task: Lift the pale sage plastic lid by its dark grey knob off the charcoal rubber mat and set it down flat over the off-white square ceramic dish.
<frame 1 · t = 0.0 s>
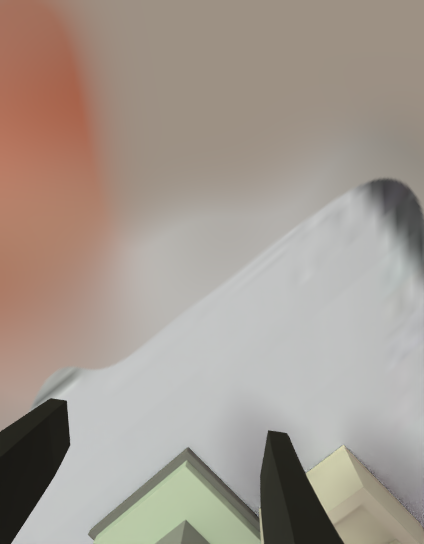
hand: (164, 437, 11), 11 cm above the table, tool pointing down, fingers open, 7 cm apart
mat: (187, 539, 23), on the table
dish: (337, 516, 22), on the table
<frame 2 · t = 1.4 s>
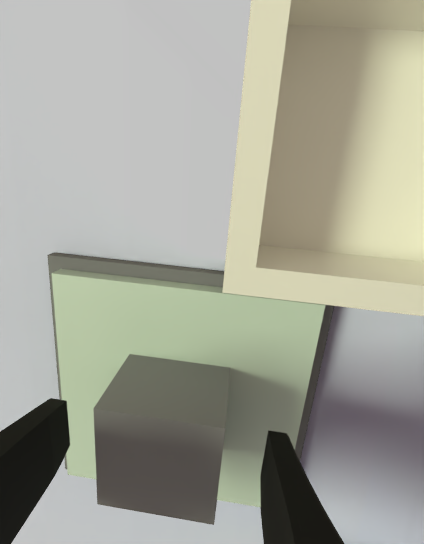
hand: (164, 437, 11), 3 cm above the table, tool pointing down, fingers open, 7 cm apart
mat: (181, 386, 13), on the table
dish: (363, 154, 10), on the table
lid: (180, 392, 13), resting on mat
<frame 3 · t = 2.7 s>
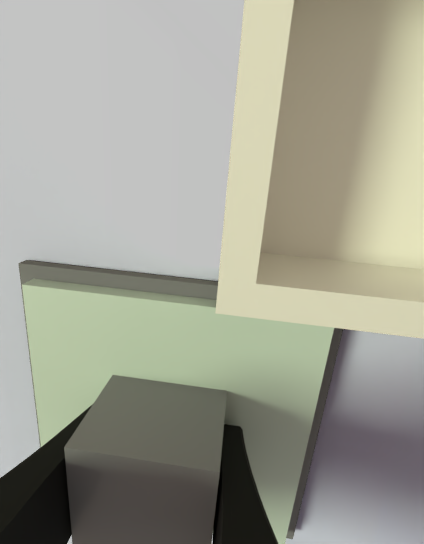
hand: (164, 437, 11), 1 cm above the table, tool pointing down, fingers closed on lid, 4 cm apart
mat: (173, 408, 12), on the table
dish: (380, 147, 9), on the table
lid: (170, 416, 12), resting on mat, touching gripper
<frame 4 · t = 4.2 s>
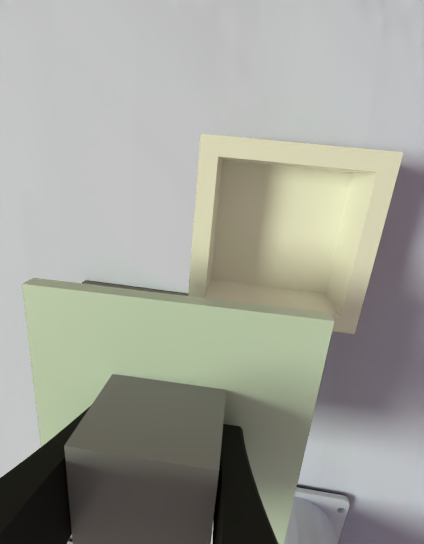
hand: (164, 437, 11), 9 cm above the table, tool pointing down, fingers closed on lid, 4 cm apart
mat: (167, 369, 20), on the table
dish: (275, 228, 17), on the table
lid: (170, 415, 12), point 8 cm above the table, touching gripper
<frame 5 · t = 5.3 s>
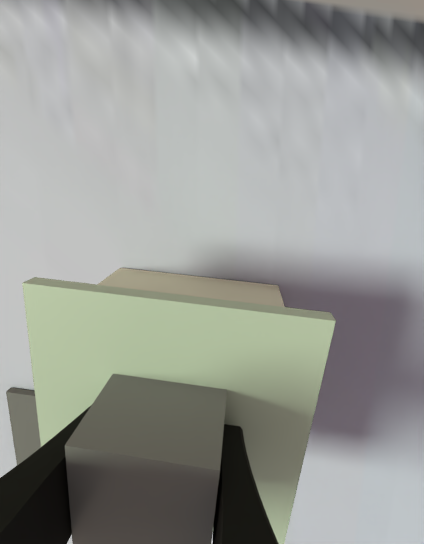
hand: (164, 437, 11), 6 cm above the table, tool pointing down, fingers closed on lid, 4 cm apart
mat: (100, 469, 20), on the table
dish: (192, 346, 17), on the table
lid: (170, 415, 12), point 5 cm above the table, touching gripper
when the fingers open (6 cm above the table, at t = 6.1 s): lid drops 1 cm, resting on dish.
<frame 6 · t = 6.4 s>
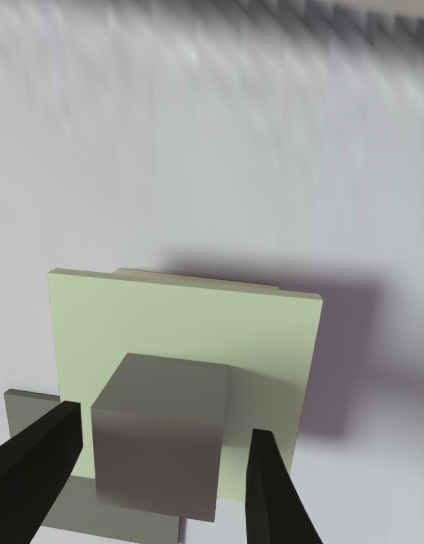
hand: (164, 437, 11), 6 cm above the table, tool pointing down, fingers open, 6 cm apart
mat: (99, 471, 20), on the table
dish: (192, 347, 16), on the table
lid: (178, 391, 13), point 3 cm above the table, touching dish
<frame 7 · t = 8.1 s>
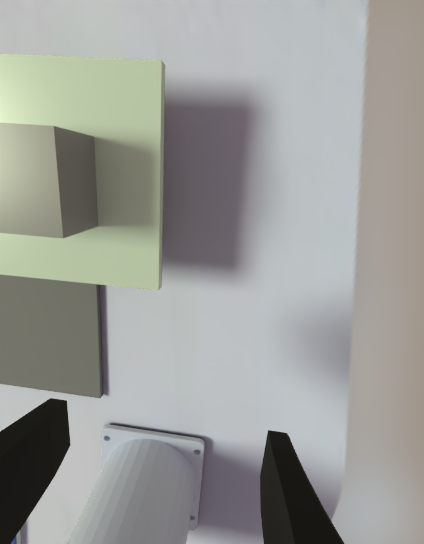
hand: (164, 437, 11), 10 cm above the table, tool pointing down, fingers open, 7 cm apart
mat: (25, 319, 22), on the table
lid: (62, 180, 15), point 3 cm above the table, touching dish
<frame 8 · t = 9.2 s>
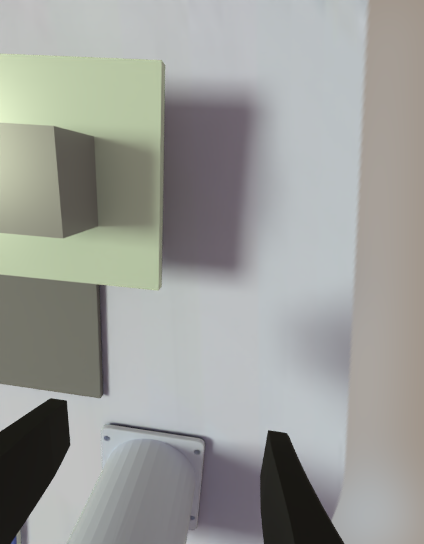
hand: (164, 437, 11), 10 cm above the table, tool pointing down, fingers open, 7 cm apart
mat: (25, 319, 22), on the table
lid: (62, 180, 15), point 3 cm above the table, touching dish
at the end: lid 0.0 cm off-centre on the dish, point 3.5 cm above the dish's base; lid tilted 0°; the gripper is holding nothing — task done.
